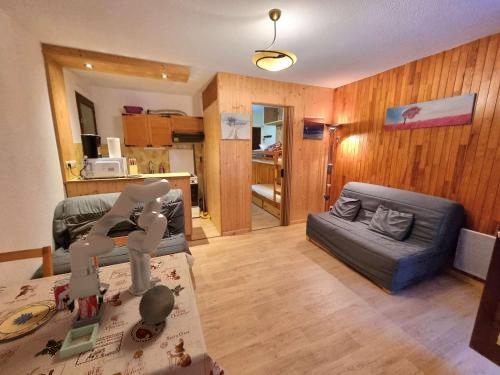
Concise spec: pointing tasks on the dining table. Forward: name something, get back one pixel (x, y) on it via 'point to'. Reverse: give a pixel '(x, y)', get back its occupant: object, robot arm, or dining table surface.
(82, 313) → the soda can
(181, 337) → the dining table surface
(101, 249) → the robot arm
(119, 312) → the dining table surface
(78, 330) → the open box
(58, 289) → the soda can
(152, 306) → the cantaloupe
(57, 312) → the dining table surface
